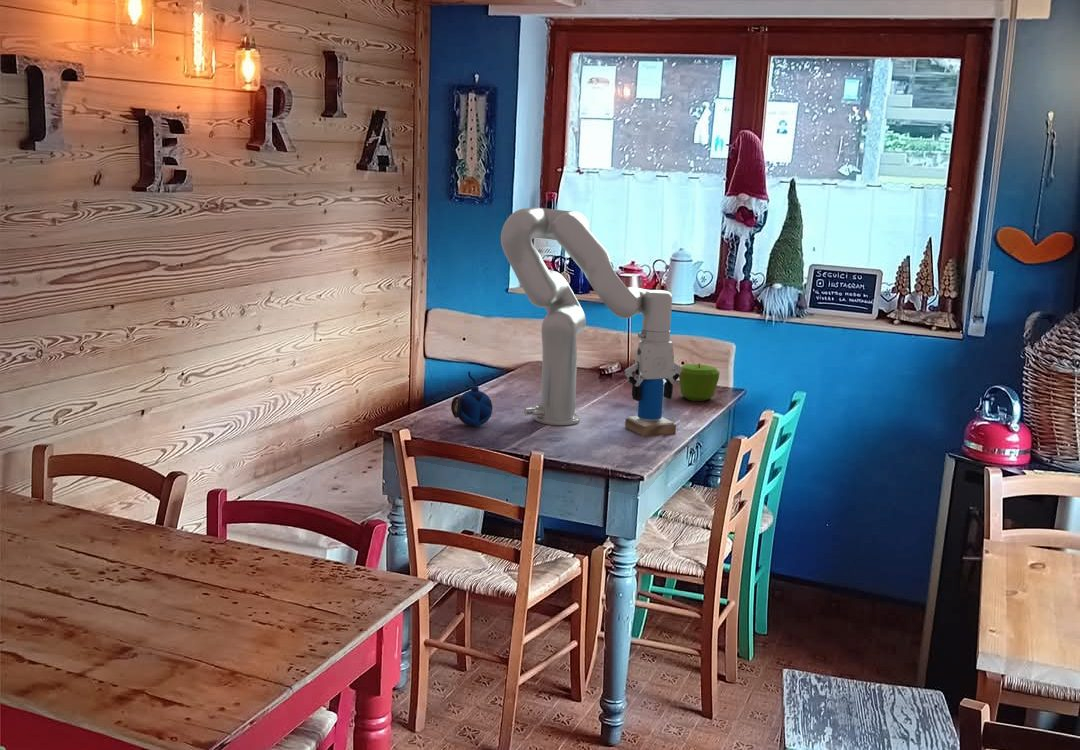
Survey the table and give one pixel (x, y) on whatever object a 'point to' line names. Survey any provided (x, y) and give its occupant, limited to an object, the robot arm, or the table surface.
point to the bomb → (472, 406)
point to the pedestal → (650, 426)
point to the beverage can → (651, 400)
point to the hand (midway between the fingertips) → (651, 398)
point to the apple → (698, 381)
